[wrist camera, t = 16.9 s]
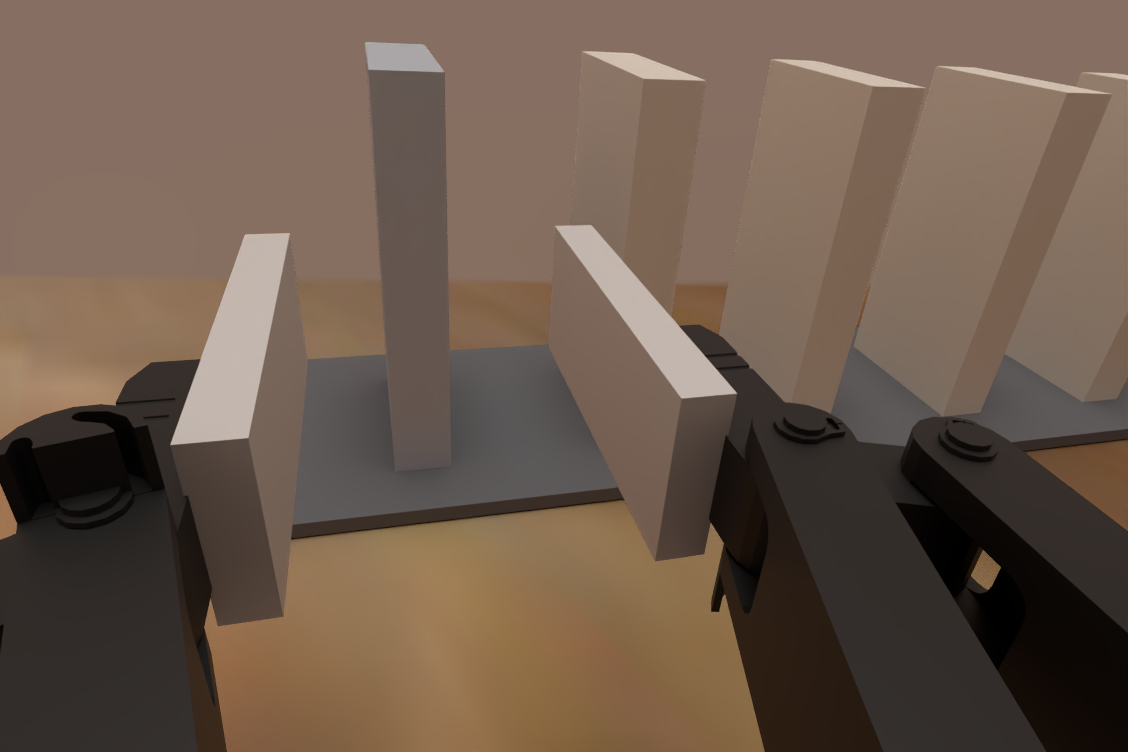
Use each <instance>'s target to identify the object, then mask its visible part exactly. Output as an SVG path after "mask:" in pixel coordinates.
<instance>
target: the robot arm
mask: <svg viewBox="0 0 1128 752" xmlns="http://www.w3.org/2000/svg"><path fill="white" fill-rule="evenodd" d="M553 256H554V257H553V275H552V293H551V312H550V331H549V349H550V351H551V353H552V355H553V357H554V359H555V361H556V363H557V365H558V367H559V369H560V371H561V373H562V375H563V377H564V379H565V381H566V383H567V385H568V387H569V389H570V391H571V393H572V395H573V397H574V399H575V401H576V403H577V405H578V407H579V409H580V411H581V413H582V415H583V417H584V419H585V421H586V423H587V425H588V427H589V429H590V431H591V433H592V436H593V438H594V440H595V442H596V444H597V446H598V448H599V450H600V452H601V454H602V456H603V458H604V460H605V462H606V464H607V466H608V468H609V470H610V472H611V474H612V476H613V478H614V480H615V482H616V484H617V486H618V488H619V490H620V492H621V494H622V496H623V498H624V500H625V502H626V504H627V506H628V508H629V510H630V512H631V514H632V516H633V518H634V520H635V522H636V524H637V526H638V528H639V530H640V532H641V534H642V536H643V538H644V540H645V542H646V544H647V546H648V548H649V550H650V552H651V554H652V556H653V558H654V560H655V561H661V560H668V559H674V558H681V557H688V556H694V555H701V554H704V552H705V547H706V542H707V537H708V533H709V528H710V523H712V525H713V526H714V528H715V530H716V531H717V533H718V534H719V536H720V538H721V539H722V541H723V542H724V546H723V550H722V555H721V559H720V564H719V568H718V573H717V577H716V582H715V586H714V590H713V595H712V601H711V612H719V609H720V605H721V601H722V597H723V596H724V595H726V599H727V603H728V607H729V611H730V615H731V619H732V623H733V627H734V631H735V635H736V639H737V643H738V647H739V651H740V655H741V659H742V663H743V667H744V671H745V675H746V679H747V683H748V686H749V690H750V694H751V698H752V702H753V706H754V710H755V714H756V718H757V722H758V726H759V730H760V734H761V738H762V742H763V746H764V750H765V752H1128V531H1127V530H1126V529H1124V528H1123V527H1122V526H1120V525H1119V524H1118V523H1117V522H1115V521H1114V520H1113V519H1111V518H1110V517H1109V516H1107V515H1106V514H1105V513H1103V512H1102V511H1101V510H1099V509H1098V508H1097V507H1096V506H1094V505H1093V504H1092V503H1090V502H1089V501H1088V500H1086V499H1085V498H1084V497H1082V496H1081V495H1080V494H1079V493H1077V492H1076V491H1075V490H1073V489H1072V488H1071V487H1069V486H1068V485H1067V484H1065V483H1064V482H1063V481H1061V480H1060V479H1059V478H1058V477H1056V476H1055V475H1054V474H1052V473H1051V472H1050V471H1048V470H1047V469H1046V468H1044V467H1043V466H1042V465H1040V464H1039V463H1038V462H1037V461H1035V460H1034V459H1033V458H1031V457H1030V456H1029V455H1027V454H1026V453H1025V452H1023V451H1022V450H1021V449H1020V448H1018V447H1017V446H1016V445H1014V444H1013V443H1012V442H1010V441H1009V440H1008V439H1006V438H1004V437H1003V436H1001V435H999V434H998V433H996V432H994V431H993V430H991V429H989V428H986V427H983V426H981V425H978V424H977V423H976V422H974V421H970V420H967V419H963V420H961V418H956V417H930V418H926V419H922V420H919V421H918V422H917V423H916V424H915V425H914V426H913V427H912V430H911V433H910V436H909V438H908V441H907V444H906V446H897V445H887V444H877V443H867V442H859V441H858V440H857V439H856V437H855V435H854V434H853V432H852V431H851V430H850V429H849V428H848V427H847V425H846V424H845V423H844V422H843V421H842V420H840V419H838V418H837V417H835V416H833V415H832V414H830V413H828V412H826V411H823V410H821V409H818V408H815V407H812V406H809V405H803V404H796V403H790V402H788V403H785V402H784V401H783V400H782V399H781V398H780V397H779V396H778V395H777V394H776V393H775V391H774V390H773V389H772V388H771V387H770V386H769V385H768V384H767V383H766V382H765V381H764V380H763V379H762V378H761V377H760V376H759V375H758V374H757V373H756V372H755V371H754V369H753V368H751V369H750V368H749V364H748V363H747V362H746V361H745V360H744V359H743V358H742V357H741V356H738V355H737V352H736V351H735V350H734V348H733V347H732V346H731V345H730V344H729V343H728V342H727V341H726V340H725V339H724V338H723V337H721V336H719V335H718V334H716V333H714V332H712V331H710V330H708V329H706V328H705V327H703V326H701V325H686V326H678V324H677V323H676V322H675V321H674V320H673V319H672V318H671V316H670V315H669V314H668V313H667V312H666V311H665V309H664V308H663V307H662V306H661V305H660V304H659V303H658V301H657V300H656V299H655V298H654V297H653V296H652V294H651V293H650V292H649V291H648V290H647V289H646V287H645V286H644V285H643V284H642V283H641V282H640V281H639V279H638V278H637V277H636V276H635V275H634V274H633V272H632V271H631V270H630V269H629V268H628V267H627V266H626V264H625V263H624V262H623V261H622V260H621V259H620V257H619V256H618V255H617V254H616V253H615V252H614V251H613V249H612V248H611V247H610V246H609V245H608V244H607V242H606V241H605V240H604V239H603V238H602V237H601V236H600V234H599V233H598V232H597V231H596V230H595V229H594V227H593V226H592V225H576V226H555V235H554V255H553ZM307 369H308V360H307V353H306V346H305V338H304V331H303V324H302V317H301V310H300V302H299V295H298V288H297V281H296V274H295V267H294V259H293V252H292V244H291V238H290V233H284V234H283V233H282V234H248V235H247V234H246V235H245V237H244V240H243V242H242V245H241V248H240V251H239V254H238V256H237V259H236V262H235V265H234V268H233V271H232V273H231V276H230V279H229V282H228V284H227V287H226V290H225V293H224V296H223V298H222V301H221V304H220V307H219V310H218V312H217V315H216V318H215V321H214V324H213V326H212V329H211V332H210V335H209V338H208V341H207V343H206V346H205V349H204V352H203V355H202V357H201V359H198V360H183V361H168V362H152V363H150V364H149V365H147V366H146V367H145V368H144V369H142V370H141V371H140V372H138V373H137V374H136V375H134V376H133V377H132V378H130V379H129V380H128V381H126V383H125V385H124V387H123V389H122V391H121V393H120V395H119V397H118V399H117V401H116V406H113V405H103V404H100V405H90V406H80V407H72V408H68V409H65V410H61V411H57V412H53V413H50V414H46V415H43V416H41V417H39V418H37V419H34V420H32V421H30V422H28V423H26V424H23V425H21V426H19V427H17V428H16V429H15V430H13V431H12V432H11V433H9V434H8V435H7V436H5V437H4V438H3V439H1V440H0V484H1V486H2V489H3V491H4V493H5V496H6V498H7V500H8V503H9V505H10V508H11V510H12V512H13V515H14V517H15V519H16V522H17V531H16V534H14V535H12V536H10V537H7V538H4V539H1V540H0V752H227V750H226V744H225V737H224V731H223V725H222V718H221V712H220V706H219V699H218V693H217V687H216V681H215V674H214V668H213V662H212V655H211V651H210V647H209V643H208V640H207V636H206V633H205V629H204V625H205V620H206V616H207V611H208V606H209V602H210V598H211V601H212V605H213V609H214V613H215V617H216V620H217V624H218V626H223V625H230V624H237V623H243V622H250V621H257V620H263V619H270V618H277V617H283V616H284V606H285V596H286V585H287V575H288V565H289V554H290V544H291V534H292V524H293V513H294V503H295V493H296V482H297V472H298V462H299V451H300V441H301V431H302V421H303V410H304V400H305V390H306V379H307ZM982 550H984V551H985V552H986V553H987V554H988V555H989V556H990V557H991V558H992V559H993V560H994V561H995V562H996V563H997V564H998V565H999V566H1000V567H1001V569H1000V571H999V573H998V575H997V577H996V579H995V581H994V583H993V585H992V587H991V588H990V589H989V590H987V589H985V588H983V587H982V586H981V585H980V584H978V583H977V582H976V581H975V580H974V579H973V578H972V577H971V574H972V572H973V570H974V568H975V565H976V563H977V561H978V559H979V557H980V555H981V553H982Z"/></svg>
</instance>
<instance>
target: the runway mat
mask: <svg viewBox="0 0 1128 752" xmlns="http://www.w3.org/2000/svg"><path fill="white" fill-rule="evenodd" d="M859 326H860V325H858V326H856V329H855V332H854V336H853V339H852V342H851V346H850V349H849V353H848V356H847V360H846V363H845V366H844V370H843V373H842V377H841V380H840V383H839V387H838V390H837V394H836V397H835V400H834V404H833V407H832V411H831V414H832V415H833V416H835V417H837V418H838V419H840V420H842V421H843V422H844V423H845V424H846V425H847V427H848V428H849V429H850V430H851V431H852V432H853V434H854V435H855V437H856V439H857V440H858V441H859V442H867V443H877V444H887V445H897V446H906V444H907V441H908V438H909V436H910V433H911V430H912V427H913V426H914V425H915V424H916V423H917V422H918V421H919V420H922V419H926V418H930V417H942V416H941V415H940V414H939V413H937V412H936V411H935V410H933V409H932V408H931V407H930V406H928V405H927V404H926V403H925V402H923V401H922V400H921V399H920V398H918V397H917V396H916V395H914V394H913V393H912V392H911V391H909V390H908V389H907V388H906V387H904V386H903V385H902V384H901V383H899V382H898V381H897V380H895V379H894V378H893V377H892V376H890V375H889V374H888V373H887V372H885V371H884V370H883V369H882V368H880V367H879V366H878V365H877V364H875V363H874V362H873V361H871V360H870V359H869V358H868V357H866V356H865V355H864V354H863V353H861V352H860V351H859V350H858V349H856V348H855V347H854V343H855V339H856V336H857V332H858V329H859ZM718 335H719V334H718ZM449 354H450V410H451V466H450V467H440V468H430V469H419V470H409V471H399V472H395V464H394V452H393V440H392V428H391V416H390V404H389V391H388V379H387V365H386V355H372V356H356V357H340V358H324V359H308V369H307V379H306V390H305V400H304V410H303V421H302V431H301V441H300V451H299V462H298V472H297V482H296V493H295V503H294V513H293V524H292V534H291V538H297V537H306V536H314V535H323V534H331V533H339V532H348V531H356V530H365V529H373V528H381V527H390V526H398V525H407V524H415V523H423V522H432V521H440V520H448V519H457V518H465V517H474V516H482V515H490V514H499V513H507V512H516V511H524V510H532V509H541V508H549V507H558V506H566V505H574V504H583V503H591V502H600V501H608V500H616V499H624V498H623V496H622V494H621V492H620V490H619V488H618V486H617V484H616V482H615V480H614V478H613V476H612V474H611V472H610V470H609V468H608V466H607V464H606V462H605V460H604V458H603V456H602V454H601V452H600V450H599V448H598V446H597V444H596V442H595V440H594V438H593V436H592V433H591V431H590V429H589V427H588V425H587V423H586V421H585V419H584V417H583V415H582V413H581V411H580V409H579V407H578V405H577V403H576V401H575V399H574V397H573V395H572V393H571V391H570V389H569V387H568V385H567V383H566V381H565V379H564V377H563V375H562V373H561V371H560V369H559V367H558V365H557V363H556V361H555V359H554V357H553V355H552V353H551V351H550V349H549V345H534V346H518V347H502V348H486V349H469V350H453V351H449ZM943 417H956V418H961V420H963V419H967V420H970V421H974V422H976V423H977V424H978V425H981V426H983V427H986V428H989V429H991V430H993V431H994V432H996V433H998V434H999V435H1001V436H1003V437H1004V438H1006V439H1008V440H1009V441H1010V442H1012V443H1013V444H1014V445H1016V446H1017V447H1018V448H1020V449H1021V450H1022V451H1028V450H1036V449H1045V448H1053V447H1061V446H1070V445H1078V444H1087V443H1095V442H1103V441H1112V440H1120V439H1128V378H1127V380H1126V382H1125V384H1124V386H1123V388H1122V389H1121V391H1120V393H1119V395H1118V397H1117V399H1111V400H1101V401H1091V402H1082V401H1080V400H1078V399H1077V398H1075V397H1074V396H1072V395H1070V394H1069V393H1067V392H1065V391H1064V390H1062V389H1061V388H1059V387H1057V386H1056V385H1054V384H1053V383H1051V382H1049V381H1048V380H1046V379H1045V378H1043V377H1041V376H1040V375H1038V374H1036V373H1035V372H1033V371H1032V370H1030V369H1028V368H1027V367H1025V366H1024V365H1022V364H1020V363H1019V362H1017V361H1015V360H1014V359H1012V358H1011V357H1009V356H1007V355H1006V354H1004V357H1003V359H1002V361H1001V364H1000V366H999V369H998V371H997V373H996V376H995V378H994V381H993V383H992V385H991V388H990V390H989V393H988V395H987V397H986V400H985V402H984V405H983V407H982V410H981V412H980V413H973V414H963V415H953V416H943Z"/></svg>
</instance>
